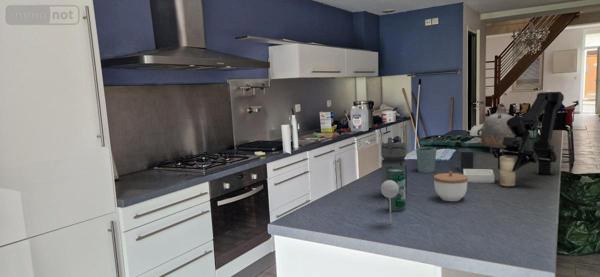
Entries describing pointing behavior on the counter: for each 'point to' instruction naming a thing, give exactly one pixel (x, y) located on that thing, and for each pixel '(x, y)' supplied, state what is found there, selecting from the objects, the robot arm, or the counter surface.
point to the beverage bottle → (393, 157)
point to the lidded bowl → (450, 186)
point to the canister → (507, 170)
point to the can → (399, 200)
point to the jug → (496, 128)
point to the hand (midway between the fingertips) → (505, 170)
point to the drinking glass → (426, 159)
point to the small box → (465, 159)
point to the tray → (479, 175)
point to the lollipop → (389, 191)
